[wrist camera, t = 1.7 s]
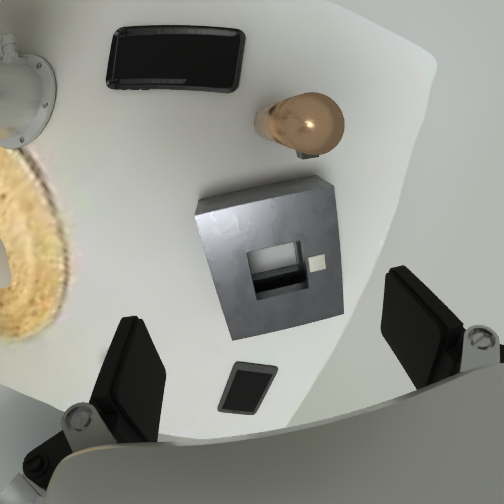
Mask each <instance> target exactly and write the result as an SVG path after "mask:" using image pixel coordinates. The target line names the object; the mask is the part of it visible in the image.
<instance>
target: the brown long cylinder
mask: <svg viewBox="0 0 504 504" xmlns="http://www.w3.org/2000/svg"><path fill="white" fill-rule="evenodd" d="M254 125H255V128H256V131H257V132H258V133H259V134H260V135H261V136H262V137H264V138H266V139H269V140H271V141H274V142H277V143H279V144H282V145H284V146H287V147H289V148H292V149H294V150H296V153H297V157H298V158H301V159H309V158H315V157H319V155H321V154H324V153H327V152H329V151H331V150H332V149H333V148H335V147H336V146H337V144H338V143H339V142H340V140H341V138H342V136H343V133H344V117H343V114H342V112H341V110H340V108H339V106H338V105H337V104H336V103H335V102H334V101H333V100H332V99H331V98H329V97H328V96H326V95H323V94H320V93H314V92H310V93H304V94H301V95H297V96H294V97H291V98H288V99H285V100H282V101H279V102H276V103H273V104H271V105H268V106H265V107H263V108H261V109H260V110H259V111H258V112H257V114H256V116H255V119H254Z"/></svg>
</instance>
